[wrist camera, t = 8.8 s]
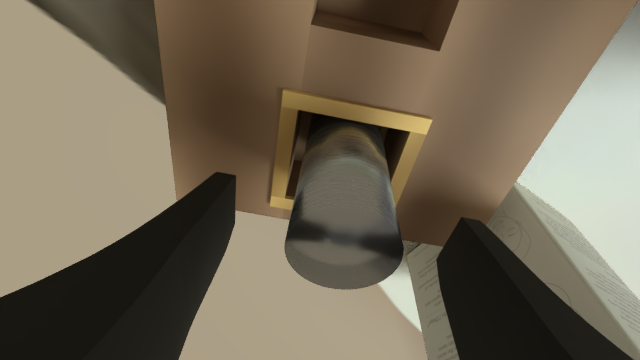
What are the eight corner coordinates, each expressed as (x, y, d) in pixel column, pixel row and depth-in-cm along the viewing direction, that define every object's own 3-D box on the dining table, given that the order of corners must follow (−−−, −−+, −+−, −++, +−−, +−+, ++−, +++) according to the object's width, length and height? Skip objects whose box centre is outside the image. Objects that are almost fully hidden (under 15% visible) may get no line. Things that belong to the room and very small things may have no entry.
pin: (388, 101, 14) (423, 223, 8) (366, 159, 16) (379, 298, 10) (319, 84, 14) (296, 195, 8) (305, 145, 16) (276, 277, 9)
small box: (463, 286, 22) (537, 492, 14) (403, 253, 21) (443, 462, 12) (572, 218, 18) (774, 452, 10) (506, 170, 17) (677, 399, 8)
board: (632, -128, 10) (755, -163, 7) (449, 204, 18) (469, 254, 15) (186, -239, 9) (111, -330, 6) (204, 159, 17) (174, 202, 14)
